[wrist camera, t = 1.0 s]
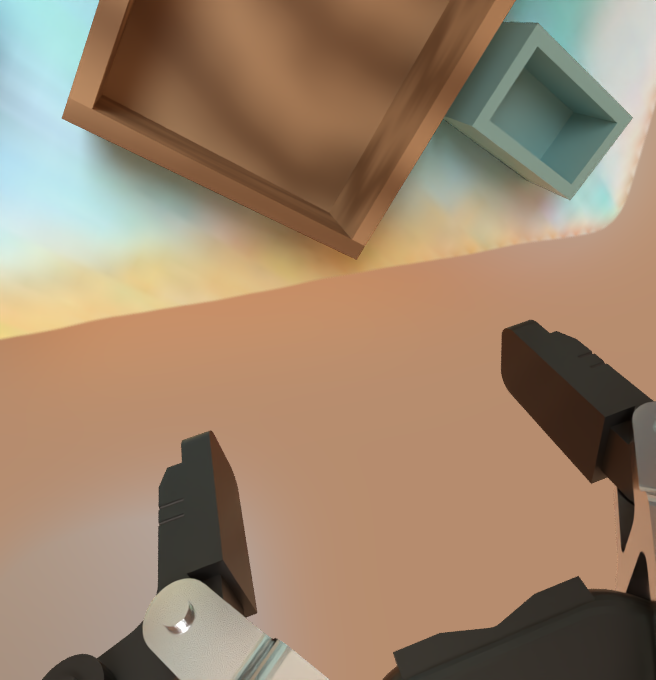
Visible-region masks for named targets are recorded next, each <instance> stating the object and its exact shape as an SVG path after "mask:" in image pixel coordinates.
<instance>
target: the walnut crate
mask: <svg viewBox="0 0 656 680" xmlns="http://www.w3.org/2000/svg"><path fill="white" fill-rule="evenodd" d="M515 1H516V0H99V4H98V7H97V10H96V13H95V16H94V19H93V22H92V25H91V29H90V32H89V35H88V38H87V41H86V44H85V47H84V50H83V54H82V57H81V60H80V63H79V66H78V69H77V72H76V76H75V79H74V82H73V85H72V88H71V91H70V94H69V97H68V101H67V104H66V107H65V110H64V113H63V116H62V119H64V120H66V121H68V122H70V123H72V124H74V125H76V126H78V127H81V128H83V129H85V130H87V131H89V132H91V133H93V134H95V135H97V136H99V137H101V138H103V139H106V140H108V141H110V142H112V143H114V144H116V145H118V146H120V147H122V148H124V149H126V150H129V151H131V152H133V153H135V154H137V155H139V156H141V157H143V158H145V159H147V160H149V161H151V162H154V163H156V164H158V165H160V166H162V167H164V168H166V169H168V170H170V171H172V172H174V173H176V174H179V175H181V176H183V177H185V178H187V179H189V180H191V181H193V182H195V183H197V184H199V185H202V186H204V187H206V188H208V189H210V190H212V191H214V192H216V193H218V194H220V195H222V196H224V197H227V198H229V199H231V200H233V201H235V202H237V203H239V204H241V205H243V206H245V207H247V208H250V209H252V210H254V211H256V212H258V213H260V214H262V215H264V216H266V217H268V218H270V219H272V220H275V221H277V222H279V223H281V224H283V225H285V226H287V227H289V228H291V229H293V230H295V231H297V232H300V233H302V234H304V235H306V236H308V237H310V238H312V239H314V240H316V241H318V242H320V243H323V244H325V245H327V246H329V247H331V248H333V249H335V250H337V251H339V252H341V253H343V254H345V255H348V256H350V257H352V258H354V259H356V260H357V258H358V256H359V255H360V253H361V252H362V250H363V248H364V247H365V245H366V243H367V242H368V240H369V239H370V237H371V235H372V234H373V232H374V230H375V229H376V227H377V225H378V224H379V222H380V221H381V219H382V217H383V216H384V214H385V212H386V211H387V209H388V208H389V206H390V204H391V203H392V201H393V199H394V198H395V196H396V195H397V193H398V191H399V190H400V188H401V186H402V185H403V183H404V181H405V180H406V178H407V177H408V175H409V173H410V172H411V170H412V168H413V167H414V165H415V164H416V162H417V160H418V159H419V157H420V155H421V154H422V152H423V151H424V149H425V147H426V146H427V144H428V142H429V141H430V139H431V137H432V136H433V134H434V133H435V131H436V129H437V128H438V126H439V124H440V123H441V121H442V120H443V118H444V116H445V115H446V113H447V111H448V110H449V108H450V107H451V105H452V103H453V102H454V100H455V98H456V97H457V95H458V93H459V92H460V90H461V89H462V87H463V85H464V84H465V82H466V80H467V79H468V77H469V76H470V74H471V72H472V71H473V69H474V67H475V66H476V64H477V63H478V61H479V59H480V58H481V56H482V54H483V53H484V51H485V49H486V48H487V46H488V45H489V43H490V41H491V40H492V38H493V36H494V35H495V33H496V32H497V30H498V28H499V27H500V25H501V23H502V22H503V20H504V19H505V17H506V15H507V14H508V12H509V10H510V9H511V7H512V5H513V4H514V2H515Z"/></svg>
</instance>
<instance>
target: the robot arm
mask: <svg viewBox="0 0 656 680" xmlns="http://www.w3.org/2000/svg"><path fill="white" fill-rule="evenodd" d="M501 355H502V356H501V374H502V378H503V381H504V384H505V386H506V388H507V389H508V391H509V392H510V393H511V394H512V396H513V397H514V398H515V399H516V400H517V401H518V402H519V404H520V405H521V406H522V407H523V408H524V409H525V410H526V411H527V412H528V413H529V415H530V416H531V417H532V418H533V419H534V420H535V421H536V422H537V424H538V425H539V426H540V427H541V428H542V429H543V430H544V431H545V433H546V434H547V435H548V436H549V437H550V438H551V439H552V440H553V441H554V442H555V444H556V445H557V446H558V447H559V448H560V449H561V450H562V451H563V452H564V454H565V455H566V456H567V457H568V458H569V459H570V460H571V461H572V463H573V464H574V465H575V466H576V467H577V468H578V469H579V470H580V472H582V474H583V475H584V476H585V477H586V478H587V479H588V480H589V482H590V483H594V482H597V481H599V480H602V479H605V478H607V477H608V478H609V479H610V480H611V481H612V482H613V483H614V484H615V487H614V509H615V526H616V543H617V574H616V585H615V591H613V590H607V589H587V587H586V586H585V585H584V583H583V582H582V580H581V579H580V578H579V576H577V577H575V578H572V579H570V580H568V581H565V582H563V583H560V584H558V585H555V586H553V587H550V588H548V589H546V590H543V591H541V592H538V593H536V594H534V595H533V596H532V597H531V598H529V599H528V600H527V601H526V602H524V603H523V604H522V605H521V606H520V607H519V608H517V609H516V610H515V611H514V612H513V613H512V614H510V615H509V616H508V617H507V618H506V619H504V620H503V621H502V622H501V623H500V624H498V625H497V626H495V627H492V628H486V629H475V630H466V631H455V632H447V633H446V632H445V633H439V634H437V635H434V636H432V637H429V638H427V639H424V640H422V641H420V642H417V643H415V644H412V645H410V646H407V647H405V648H403V649H400V650H398V651H396V652H393V654H394V657H395V661H396V664H397V666H396V667H395V668H394V669H393V670H392V671H391V672H389V673H388V674H387V675H386V676H385V677H384V679H383V680H656V401H653V400H652V399H650V398H649V397H648V396H646V395H645V394H644V393H643V392H642V391H640V390H639V389H638V388H637V387H635V386H634V385H633V384H631V383H630V382H629V381H628V380H627V379H625V378H624V377H623V376H622V375H620V374H619V373H618V372H617V371H615V370H614V369H613V368H612V367H611V366H609V365H608V364H605V363H604V361H603V360H602V359H600V358H599V357H598V356H597V355H596V354H592V351H591V350H589V349H588V348H587V347H586V346H584V345H583V344H582V343H581V342H579V341H578V340H577V339H575V338H572V337H570V336H567V335H565V334H562V333H560V332H557V331H556V332H553V333H549V332H548V331H547V330H545V329H544V328H543V327H542V326H541V325H539V324H538V323H537V322H536V321H534V320H528V321H526V322H522V323H520V324H517V325H514V326H511V327H508V328H505V329H504V330H503V332H502V351H501ZM181 448H182V449H181V450H182V463H180V464H177V465H174V466H171V467H169V468H167V470H166V472H165V474H164V477H163V479H162V481H161V484H160V486H159V509H160V510H159V528H158V529H159V531H158V538H159V539H158V590H157V594H156V597H155V598H154V599H153V600H152V602H151V604H150V605H149V607H148V609H147V611H146V614H145V617H144V620H143V621H142V623H141V624H140V625H139V626H138V627H137V628H136V629H135V630H134V631H133V632H132V633H130V634H129V635H128V636H126V637H125V638H124V639H122V640H121V641H120V642H119V643H117V644H116V645H114V646H113V647H112V648H110V649H109V650H108V651H106V652H105V653H104V654H102V655H101V656H100V657H98V658H97V659H96V658H95V657H93V656H91V655H88V654H79V655H74V656H71V657H69V658H67V659H65V660H63V661H61V662H60V663H59V664H57V665H56V666H55V667H54V668H52V669H51V670H50V671H49V672H48V673H47V674H46V676H45V677H44V678H43V679H42V680H329V679H328V678H327V677H326V676H325V675H323V674H322V673H321V672H319V671H318V670H317V669H316V668H315V667H313V666H312V665H311V664H310V663H308V662H307V661H306V660H305V659H304V658H302V657H301V656H300V655H299V654H297V653H296V652H295V651H294V650H292V649H291V648H290V647H289V646H287V645H286V644H285V643H283V642H282V641H280V640H278V639H276V638H275V639H272V638H270V637H269V636H267V635H266V634H265V633H264V632H262V631H261V630H260V629H259V628H258V627H256V626H255V625H254V624H253V623H251V622H250V621H249V620H248V619H247V618H246V617H248V616H251V615H253V614H256V613H257V608H256V602H255V595H254V588H253V583H252V576H251V569H250V563H249V556H248V550H247V544H246V537H245V531H244V525H243V518H242V512H241V506H240V499H239V492H238V487H237V483H236V480H235V476H234V474H233V471H232V469H231V466H230V464H229V462H228V460H227V459H226V457H225V455H224V453H223V451H222V449H221V447H220V445H219V443H218V441H217V439H216V437H215V435H214V433H213V432H212V431H208V432H205V433H202V434H199V435H196V436H194V437H190V438H188V439H185V440H182V443H181Z"/></svg>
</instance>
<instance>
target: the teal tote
mask: <svg viewBox="0 0 656 680" xmlns="http://www.w3.org/2000/svg"><path fill="white" fill-rule="evenodd" d="M632 118H633V117H632V116H631V115H630V114H629V113H628V112H627V111H626V110H625V109H624V108H623V107H622V106H621V105H620V104H619V103H618V102H617V101H616V100H615V99H614V98H613V97H612V96H611V95H610V94H609V93H608V92H607V91H606V90H605V89H604V88H603V87H602V86H601V85H600V84H599V83H598V82H597V81H596V80H595V79H594V78H593V77H592V76H591V75H590V74H589V73H588V72H587V71H586V70H585V69H584V68H583V67H582V66H581V65H580V64H579V63H578V62H577V61H576V60H575V59H574V58H573V57H572V56H571V55H570V54H569V53H568V52H567V51H566V50H565V49H564V48H563V47H562V46H561V45H560V44H559V43H558V42H557V41H556V40H555V39H554V38H553V37H552V36H551V35H550V34H549V33H548V32H547V31H546V30H545V29H544V28H543V27H542V26H541V25H540V24H539V23H520V22H502V23H501V25H500V27H499V28H498V30H497V32H496V33H495V35H494V36H493V38H492V40H491V41H490V43H489V45H488V46H487V48H486V49H485V51H484V53H483V54H482V56H481V58H480V59H479V61H478V63H477V64H476V66H475V67H474V69H473V71H472V72H471V74H470V76H469V77H468V79H467V80H466V82H465V84H464V85H463V87H462V89H461V90H460V92H459V93H458V95H457V97H456V98H455V100H454V102H453V103H452V105H451V107H450V108H449V110H448V111H447V113H446V115H445V116H444V118H443V119H444V120H445V121H447V122H448V123H450V124H451V125H452V126H454V127H455V128H456V129H458V130H459V131H460V132H462V133H463V134H465V135H466V136H467V137H469V138H470V139H471V140H473V141H474V142H475V143H477V144H478V145H480V146H481V147H482V148H484V149H485V150H486V151H488V152H489V153H490V154H492V155H493V156H495V157H496V158H497V159H499V160H500V161H501V162H503V163H504V164H505V165H507V166H508V167H510V168H511V169H512V170H514V171H515V172H516V173H518V174H519V175H520V176H522V177H523V178H525V179H526V180H527V181H530V182H532V183H534V184H536V185H538V186H540V187H543V188H545V189H547V190H549V191H551V192H554V193H556V194H558V195H560V196H562V197H564V198H567V199H569V200H571V199H572V197H573V196H574V195H575V193H576V192H577V191H578V189H579V188H580V187H581V186H582V184H583V183H584V182H585V180H586V179H587V178H588V176H589V175H590V174H591V172H592V171H593V170H594V168H595V167H596V166H597V164H598V163H599V162H600V160H601V159H602V158H603V157H604V155H605V154H606V153H607V151H608V150H609V149H610V147H611V146H612V145H613V143H614V142H615V141H616V139H617V138H618V137H619V135H620V134H621V133H622V132H623V130H624V129H625V128H626V126H627V125H628V124H629V122H630V121H631V120H632Z"/></svg>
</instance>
